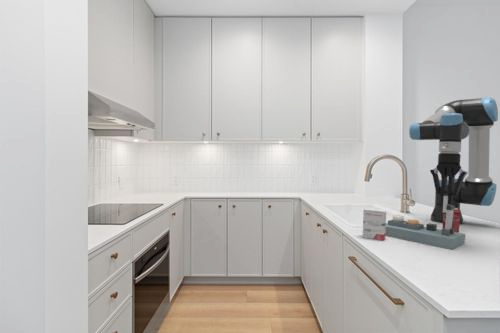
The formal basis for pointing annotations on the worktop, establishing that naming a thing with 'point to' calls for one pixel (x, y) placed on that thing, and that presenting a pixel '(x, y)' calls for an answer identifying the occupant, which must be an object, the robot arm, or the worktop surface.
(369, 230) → the ink box
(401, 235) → the panel
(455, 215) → the beverage can
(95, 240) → the worktop surface
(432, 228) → the slider knob
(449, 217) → the lever
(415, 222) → the button terracotta
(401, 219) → the button ivory
